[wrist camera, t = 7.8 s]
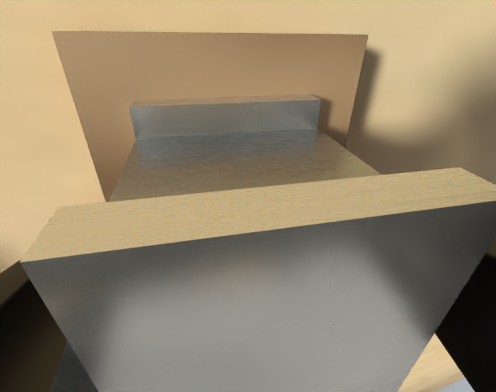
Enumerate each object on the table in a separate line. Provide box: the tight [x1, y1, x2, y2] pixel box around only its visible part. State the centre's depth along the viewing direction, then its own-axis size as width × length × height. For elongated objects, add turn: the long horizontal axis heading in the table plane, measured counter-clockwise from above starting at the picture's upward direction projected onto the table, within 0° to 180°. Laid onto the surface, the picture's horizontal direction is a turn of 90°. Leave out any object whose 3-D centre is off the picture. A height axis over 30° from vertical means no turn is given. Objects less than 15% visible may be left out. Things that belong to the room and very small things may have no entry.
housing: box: [20, 94, 496, 392], centre depth 7 cm, size 7×5×6 cm
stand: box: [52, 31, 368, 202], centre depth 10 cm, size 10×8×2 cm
